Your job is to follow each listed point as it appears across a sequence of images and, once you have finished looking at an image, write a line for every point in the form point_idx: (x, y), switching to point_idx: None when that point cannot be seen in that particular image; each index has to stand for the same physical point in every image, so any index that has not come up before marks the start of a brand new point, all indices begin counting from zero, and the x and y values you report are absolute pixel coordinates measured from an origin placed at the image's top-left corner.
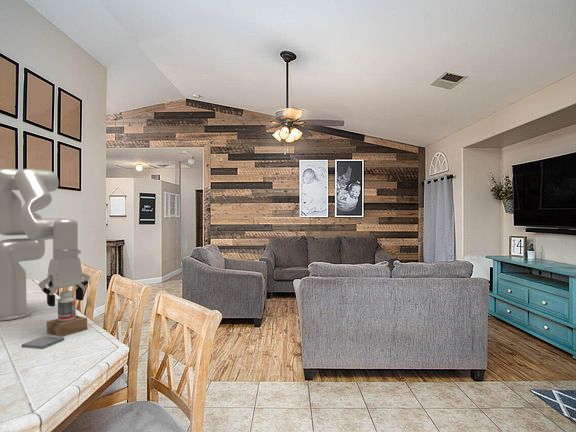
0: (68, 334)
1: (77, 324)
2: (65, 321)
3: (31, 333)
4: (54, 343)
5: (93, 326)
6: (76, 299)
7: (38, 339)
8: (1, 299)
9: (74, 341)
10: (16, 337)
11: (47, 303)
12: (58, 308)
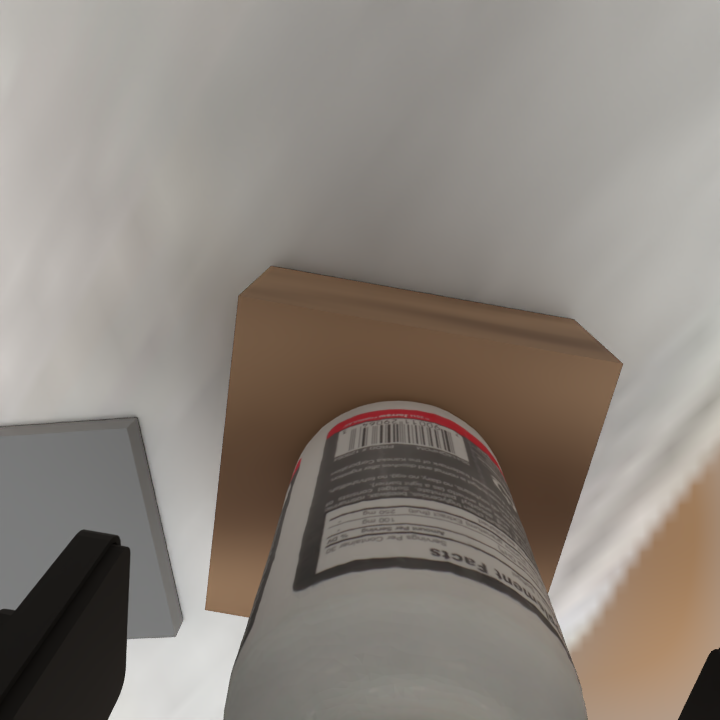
0: None
1: None
2: None
3: (191, 88)
4: None
5: (598, 557)
6: (704, 665)
7: (37, 466)
8: None
9: (194, 712)
10: (22, 58)
11: (7, 613)
12: (261, 580)
